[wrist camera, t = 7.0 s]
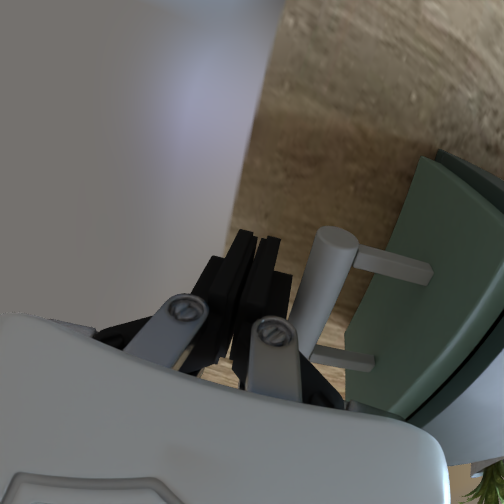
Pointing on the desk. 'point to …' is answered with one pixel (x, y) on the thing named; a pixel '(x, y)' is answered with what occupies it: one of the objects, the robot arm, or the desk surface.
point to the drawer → (409, 294)
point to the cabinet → (471, 367)
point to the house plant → (488, 480)
